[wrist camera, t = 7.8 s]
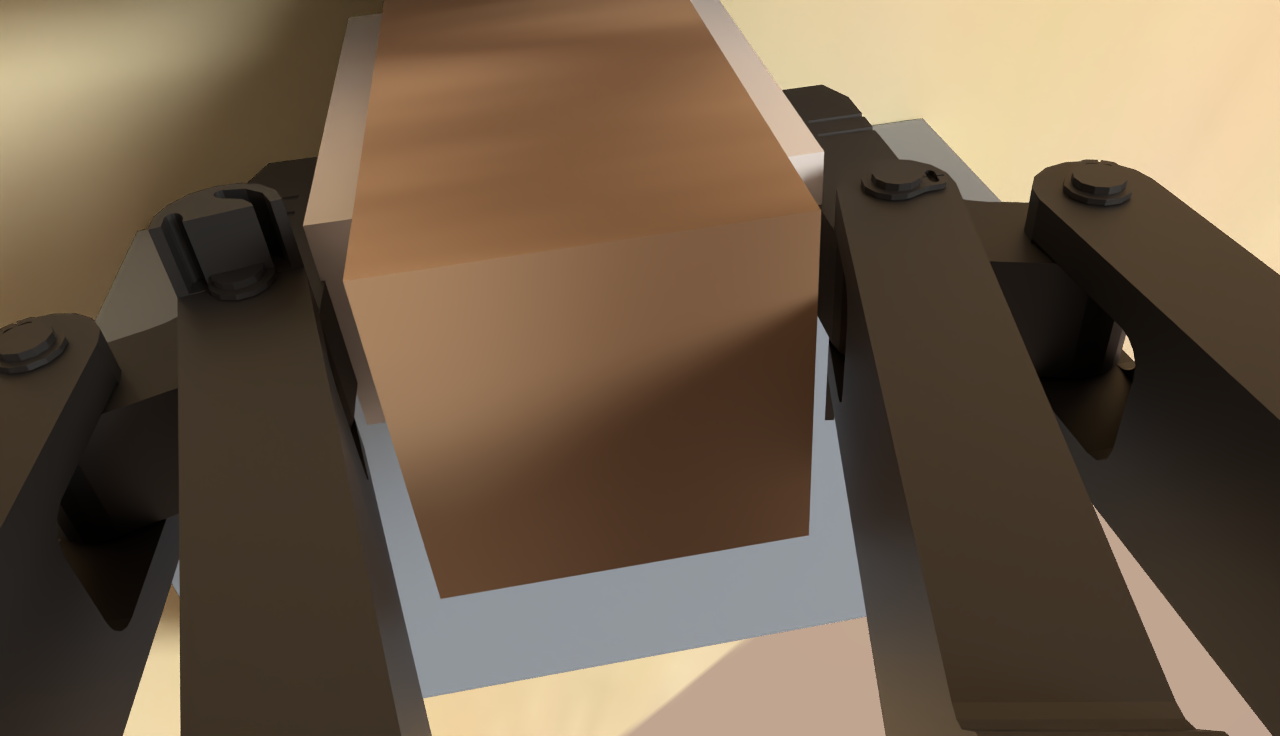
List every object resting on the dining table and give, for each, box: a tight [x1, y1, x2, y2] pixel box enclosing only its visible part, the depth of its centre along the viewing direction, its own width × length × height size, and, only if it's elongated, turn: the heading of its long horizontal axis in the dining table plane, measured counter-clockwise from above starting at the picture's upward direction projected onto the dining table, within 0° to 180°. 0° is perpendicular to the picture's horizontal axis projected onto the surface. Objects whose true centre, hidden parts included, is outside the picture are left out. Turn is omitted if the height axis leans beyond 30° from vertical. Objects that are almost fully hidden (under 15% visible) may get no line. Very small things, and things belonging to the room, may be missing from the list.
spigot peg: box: [343, 0, 821, 599], centre depth 13 cm, size 4×4×9 cm
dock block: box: [95, 118, 1001, 698], centre depth 19 cm, size 16×17×5 cm
